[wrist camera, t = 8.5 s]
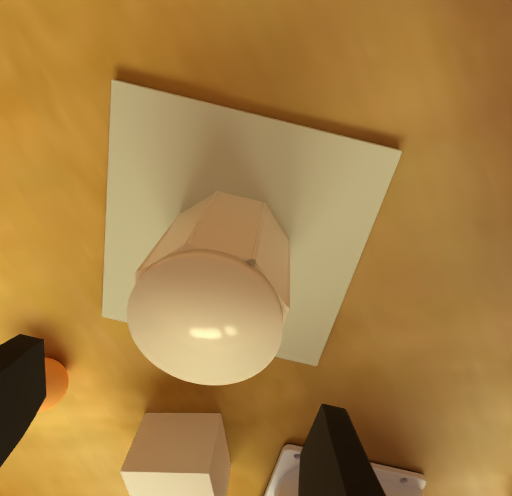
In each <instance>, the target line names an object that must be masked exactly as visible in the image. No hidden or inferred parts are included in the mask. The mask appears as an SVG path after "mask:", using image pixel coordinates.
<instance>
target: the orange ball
mask: <svg viewBox="0 0 512 496" xmlns="http://www.w3.org/2000/svg"><path fill="white" fill-rule="evenodd" d="M45 373H46V394H47V396H46V398H45V400H44V402H43V403H42V405H41V407H40V409H39V410H38V412H37V413H39V412H43V411H46V410H48V409H50V408H52V407H53V406H55V405H56V404H57V403H58V402H59V401H60V400H61V399H62V398H63V396H64V395H65V393H66V390H67V387H68V374H67V371H66V369H65V368H64V366H63V365H62V364H61V363H60V362H58V361H56V360H54V359H51V358H45Z"/></svg>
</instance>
